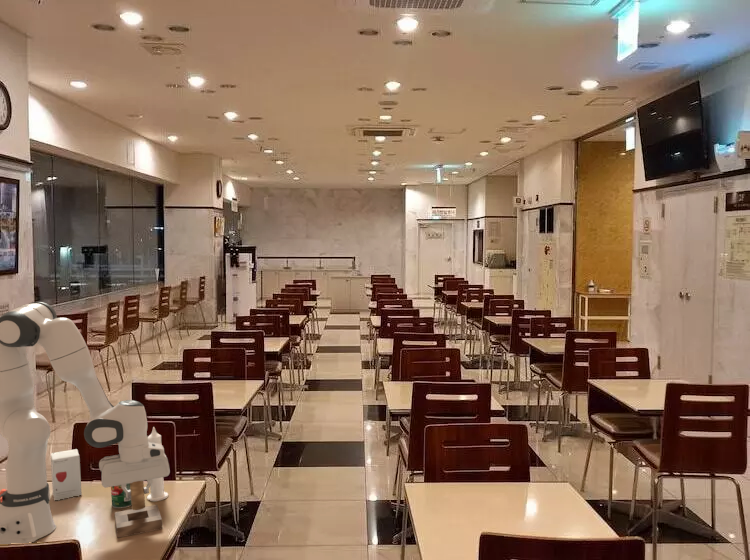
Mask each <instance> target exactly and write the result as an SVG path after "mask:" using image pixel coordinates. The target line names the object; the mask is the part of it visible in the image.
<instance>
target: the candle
mask: <svg viewBox="0 0 750 560" xmlns="http://www.w3.org/2000/svg"><path fill="white" fill-rule="evenodd" d="M147 437H148V441H149V442H150V443H158V444H161V445H162V435H161V434H159V433H158V432H157V430H156V428H155V426H153V427H152V431H151V433H150V434H149V435H147ZM162 446H163V445H162ZM164 481H165V480H164V477H161V478H155V479H152V483H151V485H150V487H149V491H150V493H148V495H147V497H146V500H147V499H148V500H147V501H149V500H150V501H149V502H159V501H163V500H165V499H167V498H168V497H169V492H167V491H165V482H164Z"/></svg>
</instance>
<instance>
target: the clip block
mask: <svg viewBox="0 0 750 560" xmlns="http://www.w3.org/2000/svg"><path fill="white" fill-rule="evenodd" d="M114 519H115V520H114V521H115V529H116V536H117V538H122V537H127V536H128V537H129V536H132V535H138V534H142V533H147V532H148V533H149V532H152V531H157V530H162V529H163V520H162V519H163V518H162V516H161V512H160V508H159V506H158V504H154V505H153V504H152V505H147V506H145V508H143V509H140V510H132V508H131V509H125V510H122V511H115V512H114Z"/></svg>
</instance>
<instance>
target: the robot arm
mask: <svg viewBox="0 0 750 560" xmlns="http://www.w3.org/2000/svg"><path fill="white" fill-rule="evenodd" d="M56 312H57V311H56V310H55V309H54V308H53V306H52V305H50V304H48V303H46V302H42V301H32V302H29V303H26V304H24V305H20V306H17V307H15V308H14V309H12V310H10V311H8V312H5V313H4V314H2V315H0V435H1V437H2V438H4V439H5V440H7V445H8V452H7V460H6V464H5V480H6V488H1V489H0V544H11V543H29V542H33V543H34V542H36V541H37V540H38V539H39V540H40V539H41V538H43V537H45V536H47V535H49V534H51V533H53V532H54V531H55V530H56V527H57V525H56V523H55V520H54V517H53V515H52V511H51V505H50V502H51V501H50V499H51V493H50V492H51V491H50V485H49V483H48V478H47V462H46V461H47V451H48V442H49V438H50V437H51V425H50V423H49V421H48V420H47V418H46V417H45V416H44V415H42V414H41V413H39V412H38V411H37V410H36V408H35V407H36V406H35V398H34V393H35V392H34V391H35V390H34V389H35V382H34V378H33V374H32V369H31V364H30V361H29V356H28V352H27V350H28V349H27V348H28V347H34V346H35V345H36V344H37V345H40V346H41V347H42V348H43V349H44V351H45V353H46V355H47V357H48V360H49V363H50V365H51V367H52V369H53V370H54V372H55V374H56V375H57V377H58V378H59V379H60V380H61V381H64V383H65V382H66V383H69V384H71V385H73V386H74V387H76V388H77V389H78V391H79V393H80V395H81V397H82V398H83V401H84V403H85V404H86V407H87V409H88V410H89V411H88V412H89V421H88V422H87V424H86V426H85V428H84V430H83V436H84V440H85V441H86V443H87V444H88V445H89V446H91V447H94V448H99V449H100V448H101V449H102V448H106V447H110V446H113V445H117V444H118V453H119V454H115V455H110V456H109V455H108V456H104V457H103V458H101V459H100V460H99V462H98V468H99V471H100V472H101V486H102V487H103V488H111V487H112V486H117V485H121V487H122V489H123V490H124V491H125V492H126V498H127V497H131V491H130V490H127V489H126V484H128V483H133V482H137V481H143V482H144V481H146V483H147V484H146V486H144V495H147V494H150V485H151V483H152V479H155V478H161V477H163V478H166V477H168V476H169V475H170V473H171V470H170V463H169V459H168V457H167V455H166V453H165V448H164V445H161V444H158V443H150V442H149V441H148V435H147V434H148V433H147V431H148V419H147V412H146V409H145V406H144V404H143V403H141V402H140V401H137V400H135V399H134V400H133V399H125V400H121V401H119V402H118V403H117V404H116V405H115V406H114V405H113V404H112V403H111V402H110V400H109V398H108V397H107V395H106V393H105V391H104V388H103V386H102V384H101V382H100V379H98V376H97V372H96V369H95V365H94V362H93V359H92V358H93V357H92V356H91V352H90V349H89V348H88V345H87V343H86V341H85V339H84V337H83V335H82V333H81V332H80V330H79V329H78V327H77V326H76V324H75V323H74V321H73V320H72V319H70V318H67V317H58V315H57V313H56Z"/></svg>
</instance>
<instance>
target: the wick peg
mask: <svg viewBox="0 0 750 560" xmlns="http://www.w3.org/2000/svg"><path fill="white" fill-rule="evenodd" d="M144 484H145V483H144V481H137V482H133V483H130V491H131V504H132V506H131V509H132V510H140V509H143V508H145V507H146V499H145V497H146V495H145V494H144V487H145V485H144Z"/></svg>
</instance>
